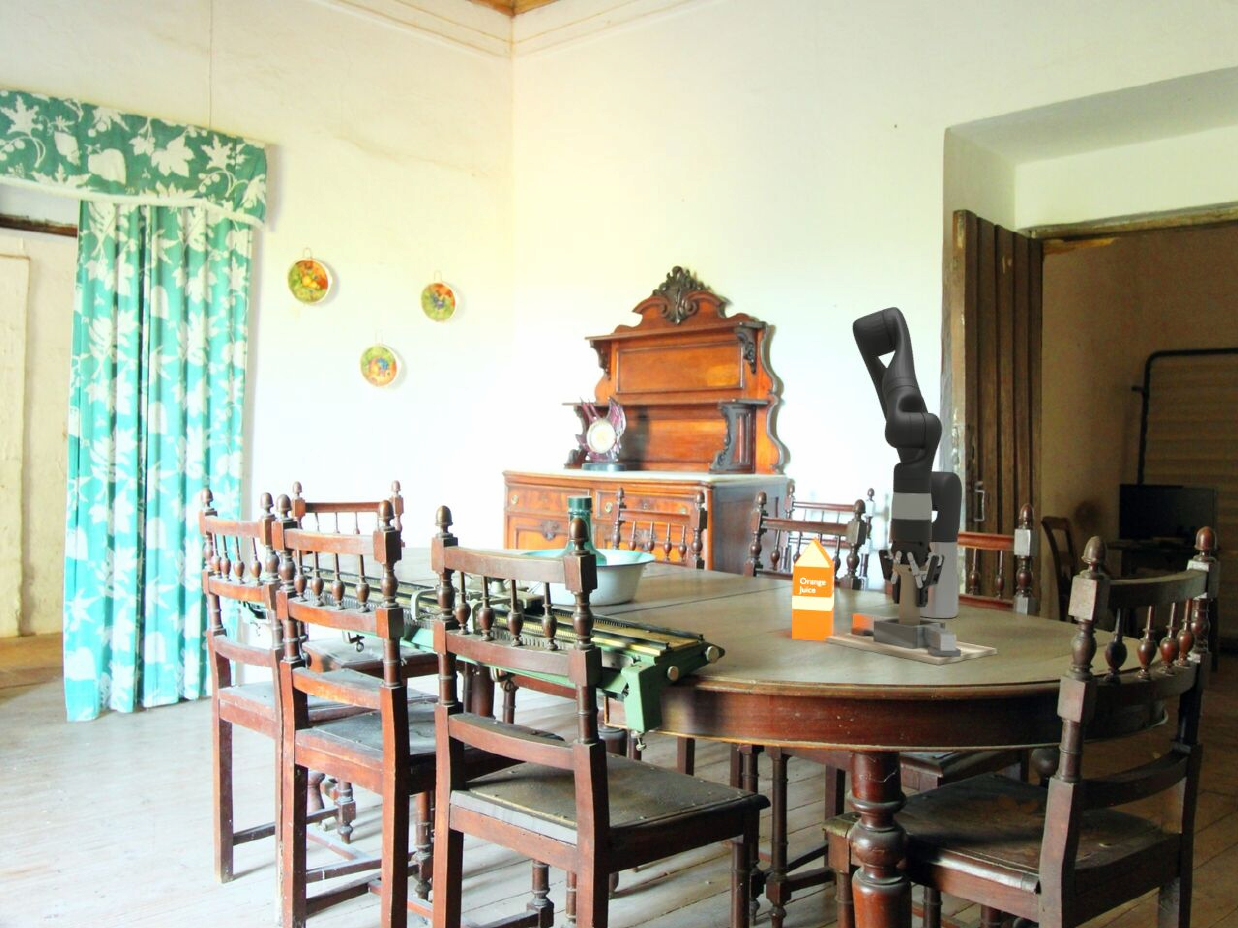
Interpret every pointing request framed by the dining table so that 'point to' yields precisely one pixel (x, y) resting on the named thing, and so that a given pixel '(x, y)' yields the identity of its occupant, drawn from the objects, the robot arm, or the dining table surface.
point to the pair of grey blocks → (932, 635)
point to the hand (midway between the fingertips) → (909, 604)
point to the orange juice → (813, 594)
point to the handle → (908, 595)
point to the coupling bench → (907, 642)
